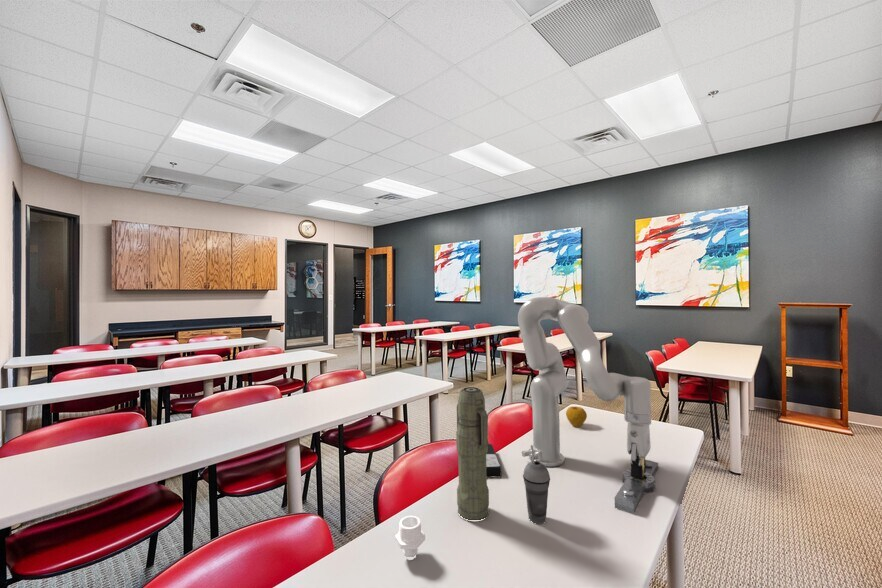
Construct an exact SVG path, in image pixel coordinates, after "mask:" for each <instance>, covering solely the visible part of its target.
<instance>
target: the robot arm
mask: <svg viewBox="0 0 882 588" xmlns="http://www.w3.org/2000/svg"><path fill="white" fill-rule="evenodd" d="M542 320H551V321H555V322H558V324H559V326H560V328H561V330H562V331H563V332H564V334H565V336H566V338H567V339H568V340H569V342H570V344H571V346H572V348H573V349H574V351H575V354H576V355H577V360H578V363H579V366H580V369H581V372H582V375H583V376H584V379H585V380H586V383H587V384H588V385H589V387H590V389H591V390H592V392H593V393H594V395H596V396H597V397H598V398H599V399H600V400H601V401H604V402H613V401H615V400H616V399H618V398H619V397H622V396H623V399H624V400H623V403H624V406H623V408H624V409H623V411H624V416H623V417H624V418H623V419H624V421H625V422H626V423H627V428H626V429H627V432H626V434H627V435H626V445H627V446H626V448H627V454H628V455H630V469H631V476H634V477H637V478H641V479H642V478H643V469H642V465H641V457H642V458H644V473H645V472H646V460H647V459H646V457H647V456H648V454H649V452H651V445H652V444H651V433H650V432H651V431H650V430H651V429H650V426H651V425H652V387H651V386H652V384H651V381H650V380H649V379H647V378H646V377H641V376H629V375H625V374H620V373H618V372H617V373H616V372H608V370H607V368H606V366H605V364H604V362H603V360H602V355H601V343H600V342H601V341H600V340H599V338H598V337H597V336H596V334H595V332H594V331H593V329H592V328H591V326H590V324H589V323H588V322H589V320H590V316H589V312H588V310H587V309H586V308H585V307H583V306H582V305H579V304H575V303H572V302H568V301H565V300H561V299H558V298H556V297H552V296H545V297H544V296H542V297H541V296H540V297H533V298H531V299H528V300H527V301H526V302H524V303H522V305H521V307H520V308H519V310H518V313H517V323H518V328H519V331H520V334H521V339H522V344H523V349H524V353H525V356H526V361H527V365H528V366H529V368H531V369H532V370H533V371H538V372H539V371H540V374H538V375H536V376H535V377H534V378H533V379H532V381H531V382H530V386H529V393H530V398H531V405H532V406H531V407H532V445H533V452H534V460H535V461H538V462H541V463H542V464H544V465H545V466H546V467H547V468H548V467H550V468H551V467H552V468H553V467H558V466H562V465H563V464H564V463H565V456H564V455H563V454H562V453H561V437H560V435H561V434H560V430H561V429H560V408H559V403H558V397H559V395H561V394H562V393H563V392H564V391H565V390H566V389H567V386H568V381H567V375H566V371H565V370H566V369H565V366H564V362H563V358H562V354H561V352H560V350H559V349H558V347H557V346H556V345H555V344H553V343H552V342H548V341H547V339H546V334H545V331H544V328H543V326H542V325H541V321H542ZM637 453H638V454H639V455H638V454H637ZM521 456H522V457H523V458H525V457H528V458H529V460H530V462H532V461H533V459H532V451H531V448H529V449H528V450H522V451H521ZM636 457H638V458H639V460H638V459H637V458H636Z"/></svg>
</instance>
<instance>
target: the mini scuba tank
mask: <svg viewBox="0 0 882 588" xmlns="http://www.w3.org/2000/svg"><path fill="white" fill-rule="evenodd" d="M530 449H531V451H532V459H533V461H530V462H529V463H527V464H526V465H525V466H524V467H525V468H524V470H523V474H522V478H523V483H524V489H525V497H526V499H525V500H526V506H527V507H526V508H527V513H528V520H529V519H530V520H529V522H531V521H532V522H533V524H534V523H536V524H535V525H543V524H545V523H546V520H547V519H546V518H547V513H548V512H547V510H548V498H549V488H550V482H551V476H550V472H549V469H548V467H547V466H545V465H544V464H542V463H541V462H538V461H535V460H534V452H533V444H531V445H530ZM532 522H531V523H532ZM544 522H545V523H544Z"/></svg>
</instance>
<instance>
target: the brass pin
mask: <svg viewBox="0 0 882 588" xmlns="http://www.w3.org/2000/svg"><path fill="white" fill-rule="evenodd" d="M637 454H638V453H637ZM638 455H639V454H638ZM636 458H637V459H638V460H639V458H638V457H636ZM641 465H642V469H643V478H642V479H641V478H637V477H634V476H633V478H635V479H639V480H644V458H642V457H641Z"/></svg>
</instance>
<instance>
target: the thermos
mask: <svg viewBox="0 0 882 588" xmlns="http://www.w3.org/2000/svg"><path fill="white" fill-rule="evenodd" d="M488 417H489V416H488V414H487V410H486V398H485V396H484V394H483V391H482V389H480V388H478V387H476V386H475V387H474V386H468V387H467V386H466V387H463V388H462V389H461V390H460V391H459V395H458V398H457V404H456V433H455V435H456V437H455V438H456V451H457V454H458V455H457V456H458V458H457V459H458V485H457V488H456V502H457V503H456V504H457V513H459V514H460V516H462V517H463V518H465V519H468V520H481V519H484V518H486V517H487V515H488V516H489V513H488V512H489V506H490V505H489V504H490V495H489V494H490V489H489V487H488V484H487V483H488V482H487V481H488V480H487V478H488V477H487V473H486V454H487V452H488V444H489V441H488V440H489V438H488V435H489V434H488V432H489V431H488V430H489V429H488V428H489V425H488V424H489V418H488ZM460 516H459V517H460ZM487 518H488V517H487ZM487 518H486V519H487ZM484 520H485V519H484Z"/></svg>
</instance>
